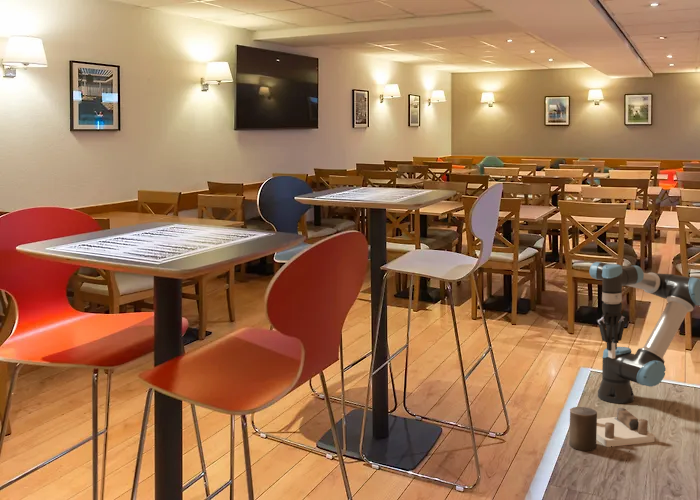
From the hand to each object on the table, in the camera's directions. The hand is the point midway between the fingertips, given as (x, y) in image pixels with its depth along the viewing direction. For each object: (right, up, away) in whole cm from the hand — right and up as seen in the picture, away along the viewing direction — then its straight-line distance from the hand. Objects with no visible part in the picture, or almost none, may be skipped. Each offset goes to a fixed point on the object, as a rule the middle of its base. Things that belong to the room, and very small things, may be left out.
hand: (611, 357), depth 273 cm
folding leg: (+1, -24, -12) cm, 27 cm away
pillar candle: (-21, -29, -25) cm, 44 cm away
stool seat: (-5, -28, -16) cm, 32 cm away
